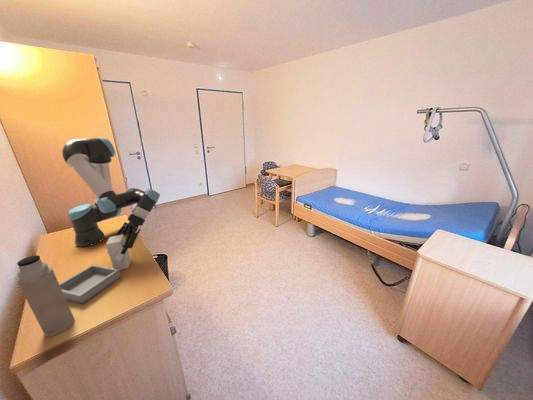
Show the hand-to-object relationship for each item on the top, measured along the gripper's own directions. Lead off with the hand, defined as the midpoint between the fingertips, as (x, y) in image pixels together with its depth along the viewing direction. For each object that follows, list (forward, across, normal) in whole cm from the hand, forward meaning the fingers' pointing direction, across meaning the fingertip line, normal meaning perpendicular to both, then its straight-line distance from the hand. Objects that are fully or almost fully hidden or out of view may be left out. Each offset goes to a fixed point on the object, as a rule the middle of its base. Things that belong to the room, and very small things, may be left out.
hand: (112, 256), depth 105 cm
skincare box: (+3, 0, -7) cm, 8 cm away
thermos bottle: (+23, -21, +13) cm, 34 cm away
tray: (+14, -4, +4) cm, 15 cm away
